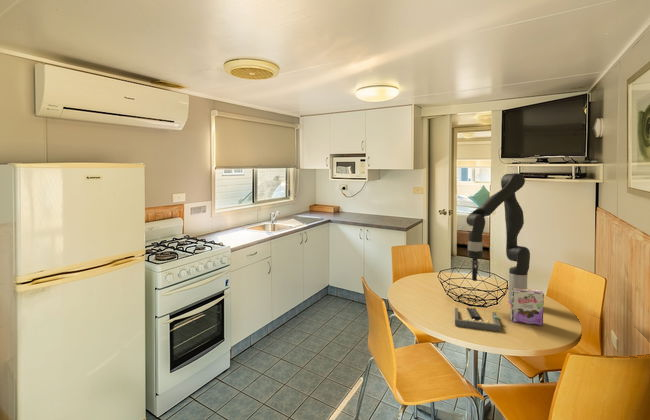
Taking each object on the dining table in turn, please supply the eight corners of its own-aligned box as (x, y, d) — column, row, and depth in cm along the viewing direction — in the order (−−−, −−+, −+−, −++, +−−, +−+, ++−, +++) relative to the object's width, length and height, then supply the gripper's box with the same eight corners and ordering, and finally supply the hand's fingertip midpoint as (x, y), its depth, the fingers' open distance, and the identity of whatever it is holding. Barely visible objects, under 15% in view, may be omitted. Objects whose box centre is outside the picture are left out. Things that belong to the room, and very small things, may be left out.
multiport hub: (471, 320, 173) (471, 316, 173) (466, 311, 187) (466, 307, 187) (481, 321, 172) (481, 317, 172) (474, 312, 186) (474, 308, 186)
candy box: (511, 322, 171) (512, 290, 170) (510, 318, 176) (510, 287, 176) (543, 325, 166) (544, 293, 165) (540, 321, 171) (541, 290, 170)
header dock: (454, 313, 183) (454, 305, 183) (495, 318, 176) (496, 310, 176) (454, 325, 165) (455, 317, 165) (500, 332, 158) (501, 323, 157)
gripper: (467, 247, 195) (466, 276, 196) (468, 250, 182) (467, 282, 183) (481, 248, 193) (480, 278, 193) (483, 251, 180) (482, 283, 180)
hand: (474, 279), depth 188 cm, fingers closed
